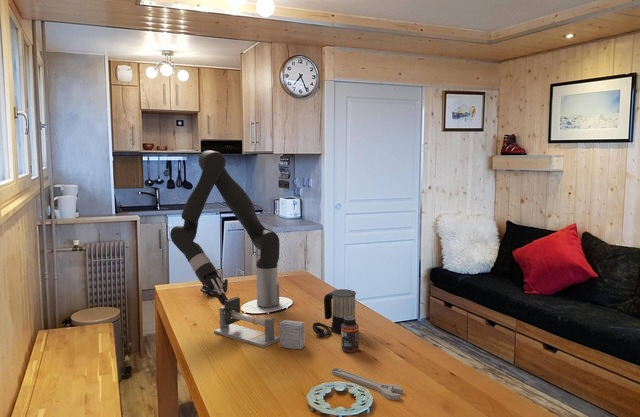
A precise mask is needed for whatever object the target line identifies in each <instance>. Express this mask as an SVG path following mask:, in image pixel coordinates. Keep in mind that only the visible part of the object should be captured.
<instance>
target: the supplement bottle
mask: <svg viewBox="0 0 640 417" xmlns="http://www.w3.org/2000/svg"><path fill="white" fill-rule="evenodd" d="M340 335H341V336H340V337H341V340H340V341H341V343H340V344H341V350H342V351H343V352H345V353H356V352H357V351H359V349H360V348H359V345H360V344H359V339H360V338H359V337H360V335H359V323H357V321H356V316H355V317H352V316H347V317H345V318H344V323H343V324H342V326H341V334H340Z"/></svg>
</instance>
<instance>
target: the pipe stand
mask: <svg viewBox="0 0 640 417" xmlns="http://www.w3.org/2000/svg"><path fill="white" fill-rule="evenodd" d="M231 318H235V319H239V320H240V321H243V322H246V323H250V324H253V325H256V326H257V325H259V326H261V327H264V332H263V331H259V330H256V329H252V328H250V327H249V328H248V327H245V326H242V325H238V324H234V323H232V324H230V325H228V324H225V305H222V306H220V307H219V328H216V329H214V330H213V333H214V334H216V335H220V336H223V337H227V338H230V339H234V340H237V341H239V342H243V343H245V344H246V343H247V344H250V345H253V346H256V347H259V348H263V349H264V348H266V347H268V346H270V345H272V344H274V343H276V342H280V336H276V335H275V317H272V316H269V317H268V318H262V317H259V316H257V315H255V316H254V315H250V314H245V313H242V312H240V313H239V312H235V311H234V310H233V311H231Z"/></svg>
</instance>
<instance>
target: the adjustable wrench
mask: <svg viewBox="0 0 640 417" xmlns="http://www.w3.org/2000/svg"><path fill="white" fill-rule="evenodd" d="M331 374H332V375H333V376H337V377H339V378H342V379H345V380H348V381H351V382H354V383H356V384H358V385H361V386H364V387H366V388H367V387H368V388H369V389H370V388H371V389H373V390H376V391H377V392H378V393H379V394H381V395H382V396H383V397H384V398H385V399H387V400H391V401H394V400H395V401H396V400H397V401H398V400H401V398H402V395H403V394H404V389H403V388H402V387H401V386H399V385H397V384H394V383H380V382H377V381H374V380H372V379H369V378H366V377H363V376H361V375H359V374H355V373H353V372H350V371H347V370H344V369H341V368H338V367H333V368H332V369H331Z"/></svg>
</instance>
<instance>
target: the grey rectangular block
mask: <svg viewBox="0 0 640 417" xmlns="http://www.w3.org/2000/svg"><path fill="white" fill-rule="evenodd" d="M215 269H216V270H217V274H218V276H219V277H221V279H223V280H224V276H223V274H224V273H223V268H222V269H221V268H215ZM210 293H211V292H210ZM202 294H203V295H205V297H208V295H207V294H205V293H203V292H202ZM211 294H212V293H211Z"/></svg>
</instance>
